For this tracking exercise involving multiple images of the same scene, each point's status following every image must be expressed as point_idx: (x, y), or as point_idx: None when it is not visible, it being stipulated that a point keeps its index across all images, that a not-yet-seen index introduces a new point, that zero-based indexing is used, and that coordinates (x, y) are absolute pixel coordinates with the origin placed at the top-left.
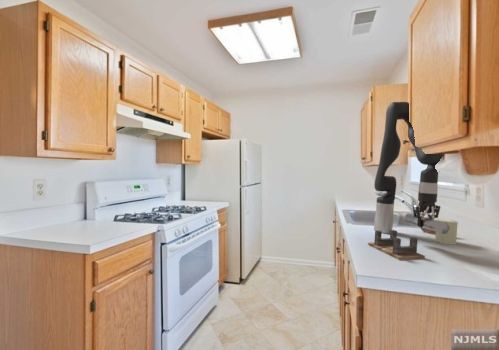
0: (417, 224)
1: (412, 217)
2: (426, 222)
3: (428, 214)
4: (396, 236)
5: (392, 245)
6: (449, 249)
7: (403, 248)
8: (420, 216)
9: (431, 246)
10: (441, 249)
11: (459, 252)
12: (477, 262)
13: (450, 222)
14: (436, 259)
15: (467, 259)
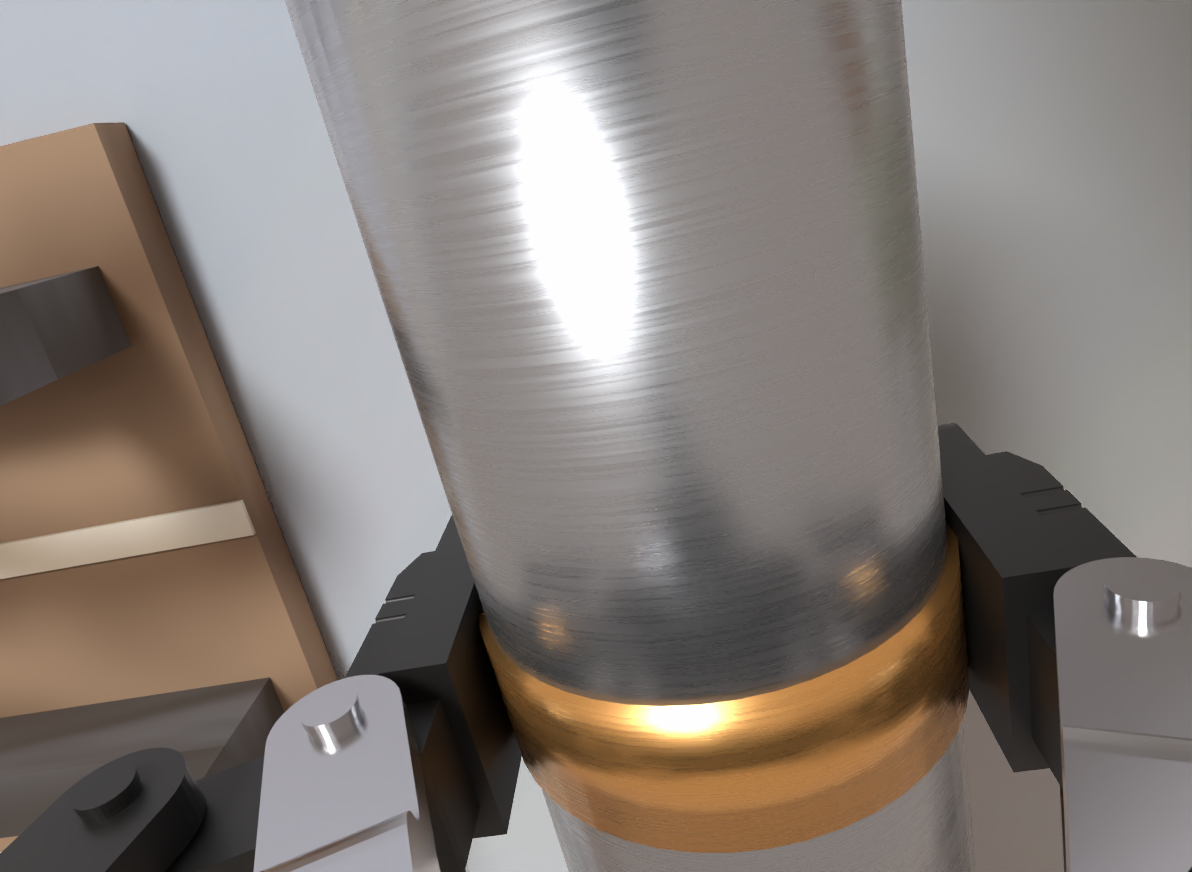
0: (402, 577)
1: (342, 167)
2: (571, 869)
3: (1064, 811)
4: (8, 401)
5: (49, 385)
6: (1161, 371)
7: (26, 826)
8: (641, 499)
9: (937, 206)
10: (988, 383)
11: (1187, 519)
12: (1016, 867)
13: None
14: (522, 795)
15: (984, 784)
